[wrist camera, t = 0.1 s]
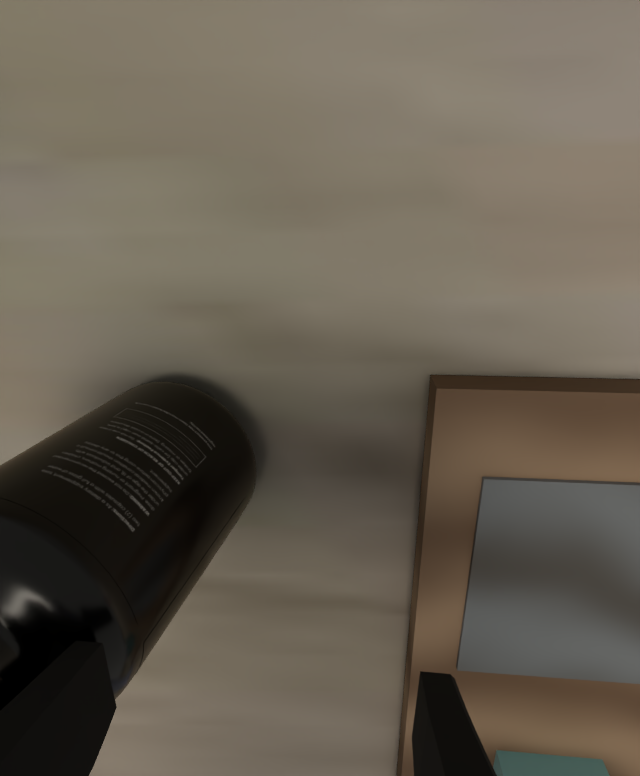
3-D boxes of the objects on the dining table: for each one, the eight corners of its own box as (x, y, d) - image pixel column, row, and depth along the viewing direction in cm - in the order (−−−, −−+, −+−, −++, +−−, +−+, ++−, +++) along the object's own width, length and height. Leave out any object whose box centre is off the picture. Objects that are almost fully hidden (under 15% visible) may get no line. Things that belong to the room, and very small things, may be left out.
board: (629, 857, 27) (685, 992, 22) (391, 832, 28) (397, 956, 23) (825, 383, 16) (1013, 449, 12) (430, 375, 17) (456, 432, 13)
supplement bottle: (87, 412, 19) (-362, 663, 9) (204, 349, 17) (-236, 601, 6) (171, 537, 21) (-124, 885, 10) (292, 497, 18) (64, 915, 7)
